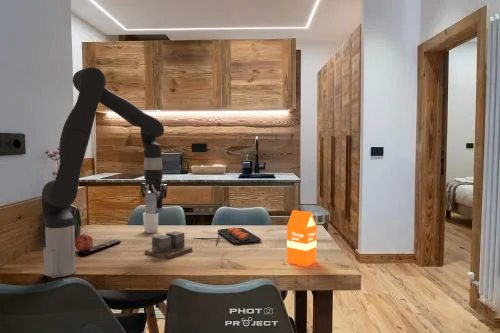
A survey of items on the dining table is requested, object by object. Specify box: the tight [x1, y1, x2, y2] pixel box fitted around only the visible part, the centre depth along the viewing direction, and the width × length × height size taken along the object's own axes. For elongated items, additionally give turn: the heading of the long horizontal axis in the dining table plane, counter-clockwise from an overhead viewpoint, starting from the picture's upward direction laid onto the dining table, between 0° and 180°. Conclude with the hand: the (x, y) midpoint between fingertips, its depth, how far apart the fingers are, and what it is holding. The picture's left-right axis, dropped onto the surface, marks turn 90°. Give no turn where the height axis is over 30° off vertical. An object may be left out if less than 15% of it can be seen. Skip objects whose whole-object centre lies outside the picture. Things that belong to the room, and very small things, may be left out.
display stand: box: [144, 230, 193, 260], centre depth 163 cm, size 14×14×8 cm
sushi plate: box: [192, 226, 262, 247], centre depth 187 cm, size 29×30×4 cm
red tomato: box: [75, 233, 94, 252], centre depth 166 cm, size 7×7×10 cm
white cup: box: [142, 211, 159, 234], centre depth 202 cm, size 8×8×10 cm
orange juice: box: [286, 209, 318, 267], centre depth 150 cm, size 8×9×20 cm
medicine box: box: [144, 191, 164, 214], centre depth 164 cm, size 8×4×9 cm, turn 169°
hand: (154, 207), depth 164 cm, fingers closed on medicine box, 5 cm apart
